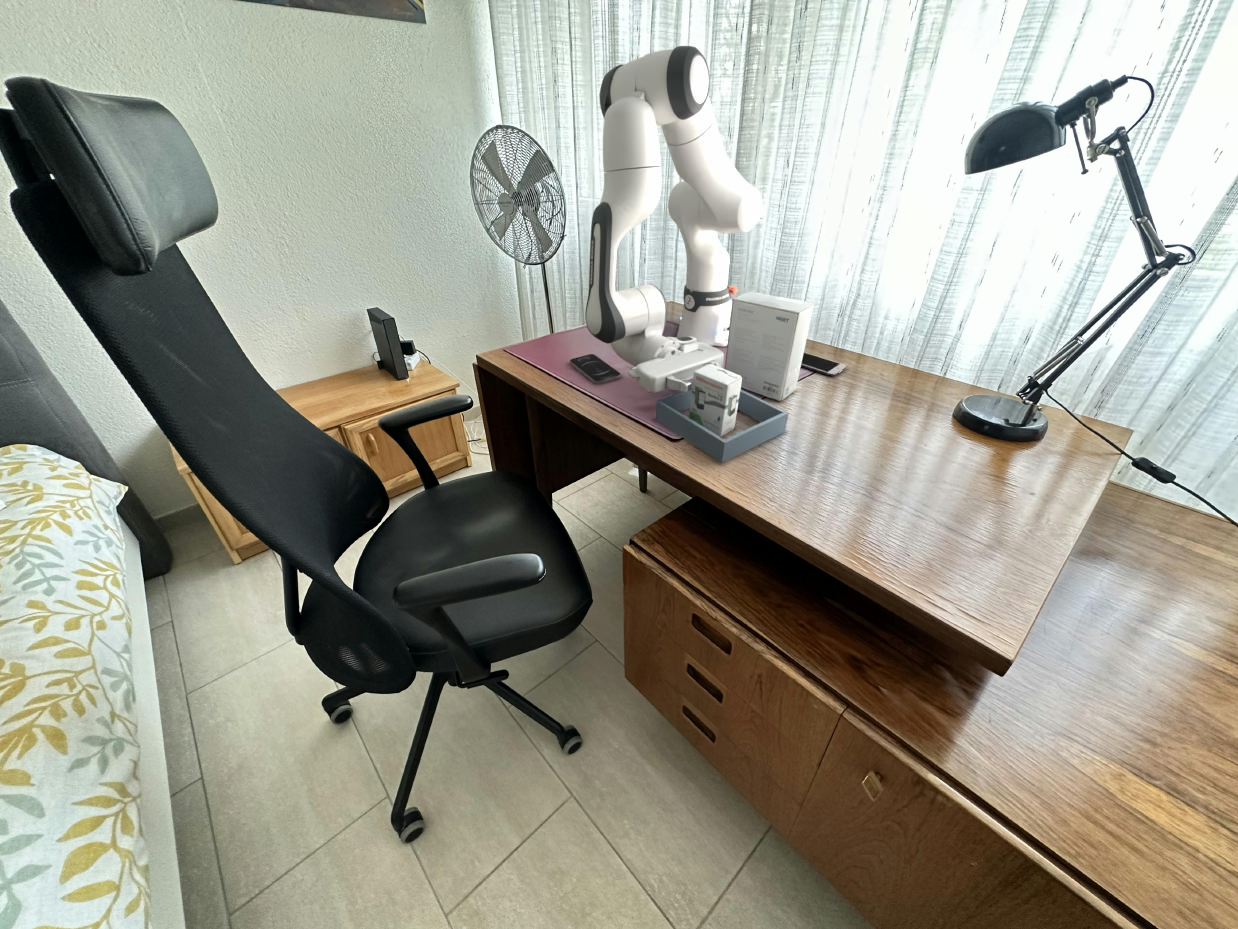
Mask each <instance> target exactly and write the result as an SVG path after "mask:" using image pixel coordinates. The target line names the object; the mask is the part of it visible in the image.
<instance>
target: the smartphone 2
mask: <svg viewBox="0 0 1238 929" xmlns="http://www.w3.org/2000/svg"><path fill="white" fill-rule="evenodd" d="M800 368H804V369H808V370H811V371H813V372H817V373H820V374H822V375H824V376H825V375H826V376H829V377H835V376H837V375H839V374H840V373H841V372H843V371H845V370H846V368H847V365H846V364H845V363H841V362H838V361H835V360H832V359H828V358H825V357H822V356H820V355H816V354H812V353H810V352H805V351H804V353H803V358H802V363H801V367H800Z"/></svg>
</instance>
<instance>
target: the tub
mask: <svg viewBox="0 0 1238 929" xmlns="http://www.w3.org/2000/svg"><path fill="white" fill-rule="evenodd" d="M691 396H692V387H691V390H690V391H687V392H683V391H681V390H680V391H678V392H676V393H673V394H670V395H667V396H665V397H662V398H659V399H657V400H655V420H656V421H657V422H658V423H660V424H662V425H663V426H665V427H666V428H667V429H669V430H671V431H672V432H674V433H676V435H678V436H680V437H681V438H683V439H684V440H686V441H687V442H688V443H691V444H692V445H694V446H695V447H697V448H698V449H699V450H701V451H703V452H704V453H706V454H707V455H709V456H710V457H712V458H713V459H715V460H716V461H718V462H719V463H721V464H723V463H725V462H727V461H729V460H731V459H733V458H735V457H737V456H739V455H742V454H744V453H745V452H748V451H750V450H752V449H754V448H755V447H757V446H759V445H760V446H761V445H762V444H764V443H766V442H768V441H770V440H771V439H774V438H776V437H778V436H781V435H782V434H784V433H785V432H786V427H787V424H788V423H787V422H788V419H789V414H790V412H788V411H786V410H784V409H782V408H780V407H778V406H775V405H774V404H772V403H769V402H768V401H766V400H763V399H761V398H759V397H758V396H755V395H753V394H751V393H749V392H748V391H746V390H744V389H742V388H741V389H740V395H739V402H738V408H737V411H739V412H741V413H743V414H744V415H747V416H749V417H750V418H752V419H754V420H756V421H758V422H759V423H758V424H755V425H753V426H751V427H749V428H747V429H744V430H743V431H740V432H737V433H736V434H733V435H731V436H730V437H727V438H725V439H724V438H722V436H721V437H720V436H718V435H716V434H714V433H713V432H711V431H709V430H708V429H706V428H705V427H703V426H701V425H700V424H698V423H696V422H695V421H693V420H691V419H690V418H689V417H688V416H687V415H685V414H683V413H682V412H684V411H686V410H688V409H689V410H690V407H691Z"/></svg>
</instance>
